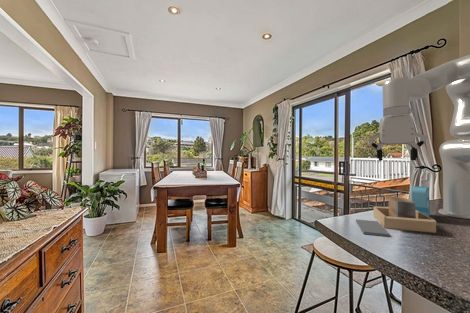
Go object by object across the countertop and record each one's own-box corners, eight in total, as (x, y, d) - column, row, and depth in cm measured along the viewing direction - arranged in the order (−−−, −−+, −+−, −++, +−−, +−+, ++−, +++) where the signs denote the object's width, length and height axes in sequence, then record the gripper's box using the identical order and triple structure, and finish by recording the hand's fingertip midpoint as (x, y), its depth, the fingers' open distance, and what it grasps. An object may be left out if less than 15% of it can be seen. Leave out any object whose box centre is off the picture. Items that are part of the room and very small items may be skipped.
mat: (377, 223, 78) (377, 221, 78) (389, 236, 65) (389, 234, 65) (355, 221, 81) (355, 219, 81) (363, 234, 68) (363, 231, 68)
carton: (414, 218, 83) (414, 208, 83) (439, 234, 66) (439, 222, 66) (372, 215, 88) (372, 206, 88) (386, 229, 71) (385, 218, 72)
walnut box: (404, 220, 81) (403, 197, 81) (415, 229, 72) (415, 202, 72) (388, 219, 83) (388, 196, 83) (398, 227, 74) (397, 201, 74)
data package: (427, 221, 80) (426, 189, 80) (412, 219, 83) (410, 188, 83) (430, 215, 88) (429, 186, 88) (416, 213, 91) (415, 185, 92)
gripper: (422, 112, 76) (423, 160, 76) (366, 117, 84) (367, 160, 84) (430, 108, 69) (431, 160, 69) (369, 114, 77) (369, 160, 77)
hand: (396, 160), depth 77 cm, fingers open, 9 cm apart
